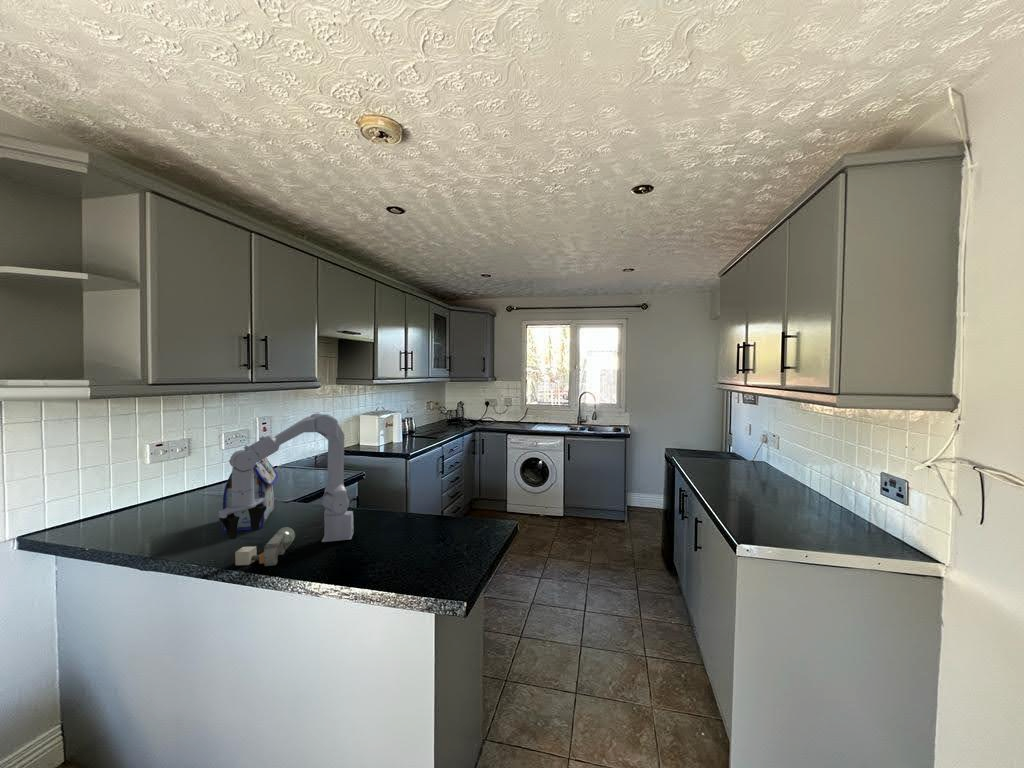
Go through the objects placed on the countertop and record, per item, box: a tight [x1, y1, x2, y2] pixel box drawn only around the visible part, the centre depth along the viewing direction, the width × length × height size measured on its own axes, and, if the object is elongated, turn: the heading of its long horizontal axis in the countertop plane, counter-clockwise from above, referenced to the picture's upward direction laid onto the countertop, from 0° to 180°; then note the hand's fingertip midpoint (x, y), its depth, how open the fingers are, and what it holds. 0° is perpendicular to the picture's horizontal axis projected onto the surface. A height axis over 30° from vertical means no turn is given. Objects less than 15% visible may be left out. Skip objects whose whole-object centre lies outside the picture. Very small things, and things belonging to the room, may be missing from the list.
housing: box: [263, 526, 296, 567], centre depth 134 cm, size 6×17×6 cm, turn 14°
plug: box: [234, 545, 265, 566], centre depth 129 cm, size 8×4×4 cm, turn 93°
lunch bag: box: [220, 457, 278, 534], centre depth 166 cm, size 23×17×27 cm
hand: (244, 534), depth 129 cm, fingers open, 7 cm apart
